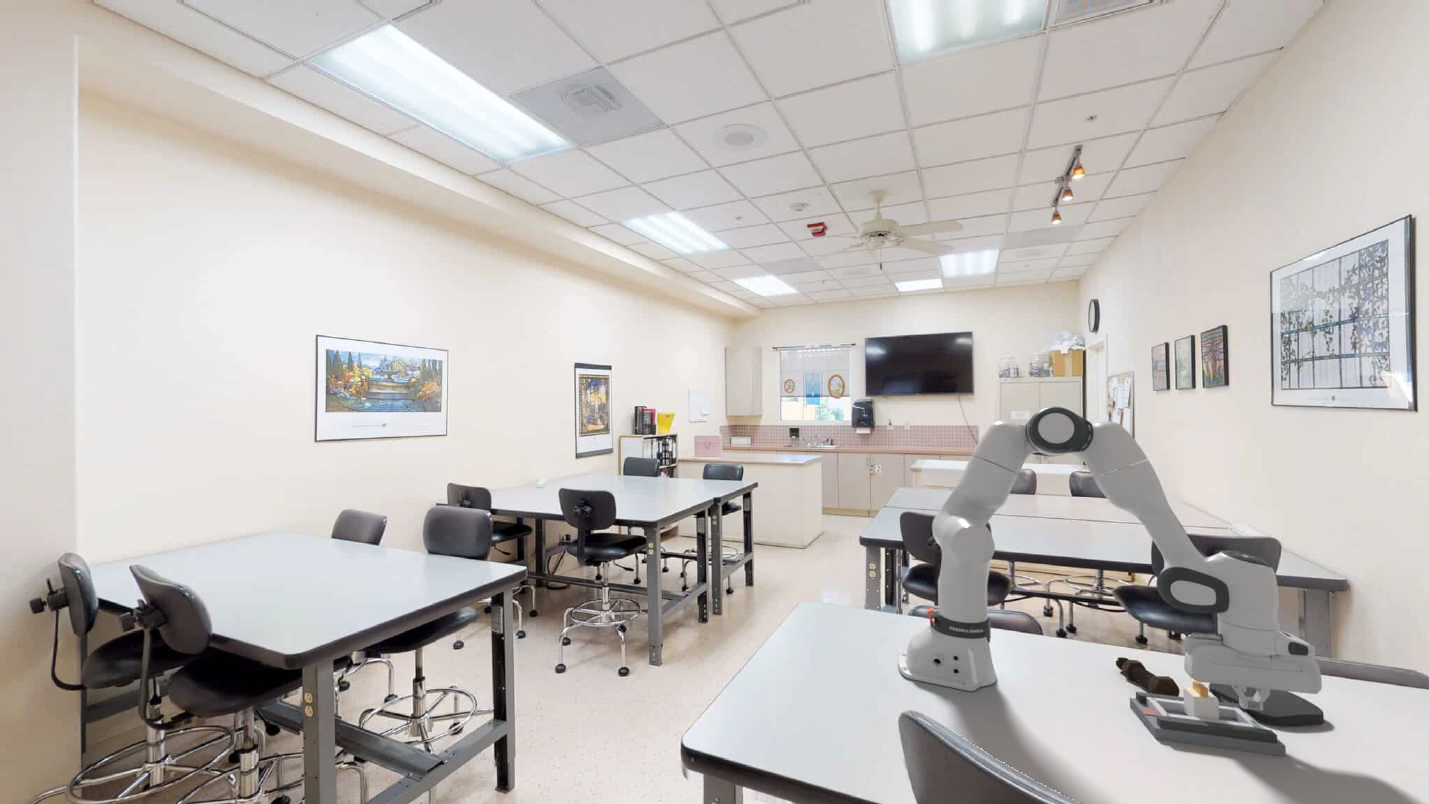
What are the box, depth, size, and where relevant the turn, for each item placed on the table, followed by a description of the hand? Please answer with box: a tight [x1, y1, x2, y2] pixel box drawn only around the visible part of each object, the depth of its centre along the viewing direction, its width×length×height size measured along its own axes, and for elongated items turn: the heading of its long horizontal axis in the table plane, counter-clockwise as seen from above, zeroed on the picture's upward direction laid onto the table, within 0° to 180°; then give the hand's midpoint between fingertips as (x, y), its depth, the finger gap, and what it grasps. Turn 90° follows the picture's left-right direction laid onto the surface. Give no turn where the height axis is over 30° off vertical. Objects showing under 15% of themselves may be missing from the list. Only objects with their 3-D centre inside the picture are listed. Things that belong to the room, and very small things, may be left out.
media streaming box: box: [1208, 683, 1325, 728], centre depth 118 cm, size 15×15×3 cm
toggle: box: [1182, 680, 1219, 720], centre depth 110 cm, size 4×4×7 cm
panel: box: [1129, 691, 1287, 757], centre depth 110 cm, size 20×12×4 cm, turn 72°
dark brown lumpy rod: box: [1115, 656, 1181, 697], centre depth 128 cm, size 6×5×15 cm
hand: (1251, 708), depth 108 cm, fingers closed
